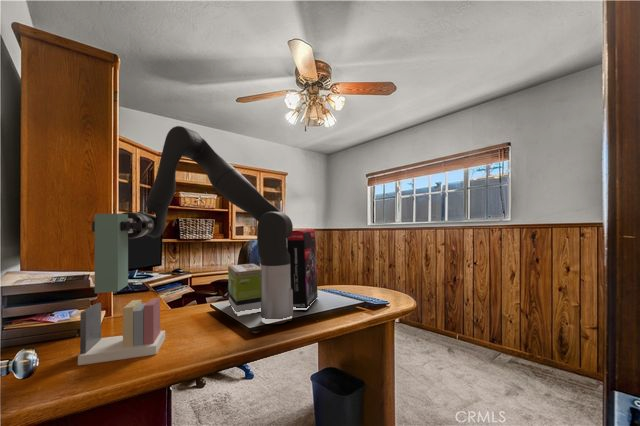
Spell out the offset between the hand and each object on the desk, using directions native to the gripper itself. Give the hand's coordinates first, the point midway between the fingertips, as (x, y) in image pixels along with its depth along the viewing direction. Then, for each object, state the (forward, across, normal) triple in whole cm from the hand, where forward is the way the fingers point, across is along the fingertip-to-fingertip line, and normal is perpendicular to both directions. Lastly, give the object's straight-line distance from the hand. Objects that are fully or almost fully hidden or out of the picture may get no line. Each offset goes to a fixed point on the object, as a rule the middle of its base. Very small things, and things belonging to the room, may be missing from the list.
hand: (109, 226), depth 68 cm
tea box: (-25, +32, +30) cm, 51 cm away
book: (-2, 0, +15) cm, 15 cm away
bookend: (-1, -4, +28) cm, 28 cm away
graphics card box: (-22, +52, +30) cm, 65 cm away
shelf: (-1, +3, +30) cm, 30 cm away
